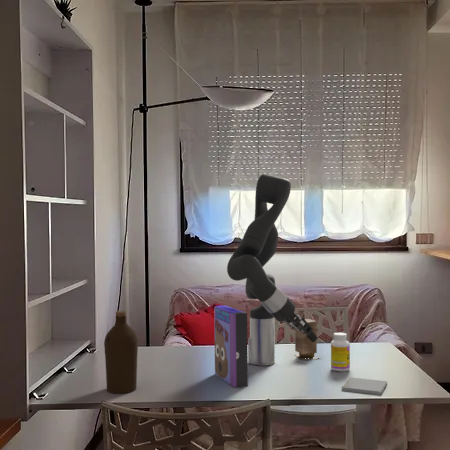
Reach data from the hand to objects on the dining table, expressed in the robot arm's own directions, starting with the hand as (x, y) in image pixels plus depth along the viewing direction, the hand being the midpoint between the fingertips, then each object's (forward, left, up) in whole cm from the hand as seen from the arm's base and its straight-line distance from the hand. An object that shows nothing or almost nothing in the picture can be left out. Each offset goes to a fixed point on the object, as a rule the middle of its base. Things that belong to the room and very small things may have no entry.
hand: (310, 338), depth 183 cm
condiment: (-12, +38, -16) cm, 43 cm away
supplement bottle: (+4, +25, -16) cm, 30 cm away
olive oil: (-55, -25, -16) cm, 63 cm away
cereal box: (-27, -2, -16) cm, 32 cm away
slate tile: (+16, +7, -16) cm, 23 cm away
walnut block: (-1, -1, -4) cm, 5 cm away
